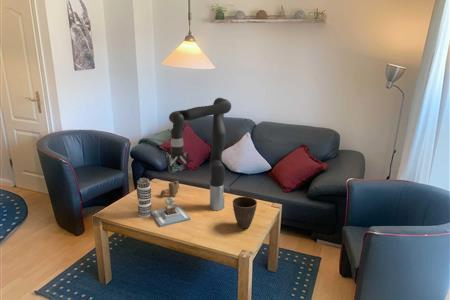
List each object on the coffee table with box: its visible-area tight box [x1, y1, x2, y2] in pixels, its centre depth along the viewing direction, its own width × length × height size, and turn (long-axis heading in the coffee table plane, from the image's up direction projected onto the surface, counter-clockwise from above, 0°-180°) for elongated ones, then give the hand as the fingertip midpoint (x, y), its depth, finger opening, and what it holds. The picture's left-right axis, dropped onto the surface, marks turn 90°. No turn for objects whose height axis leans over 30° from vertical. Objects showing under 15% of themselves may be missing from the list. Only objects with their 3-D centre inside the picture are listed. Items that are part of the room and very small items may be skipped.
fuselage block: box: [164, 206, 176, 215], centre depth 215 cm, size 5×5×6 cm
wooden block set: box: [159, 180, 180, 198], centre depth 247 cm, size 18×9×10 cm, turn 153°
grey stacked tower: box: [135, 177, 153, 218], centre depth 215 cm, size 9×9×25 cm
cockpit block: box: [164, 196, 176, 209], centre depth 213 cm, size 5×5×6 cm
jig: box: [151, 205, 191, 227], centre depth 216 cm, size 20×20×3 cm
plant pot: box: [232, 196, 258, 229], centre depth 204 cm, size 15×15×16 cm
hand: (177, 169), depth 207 cm, fingers open, 8 cm apart
